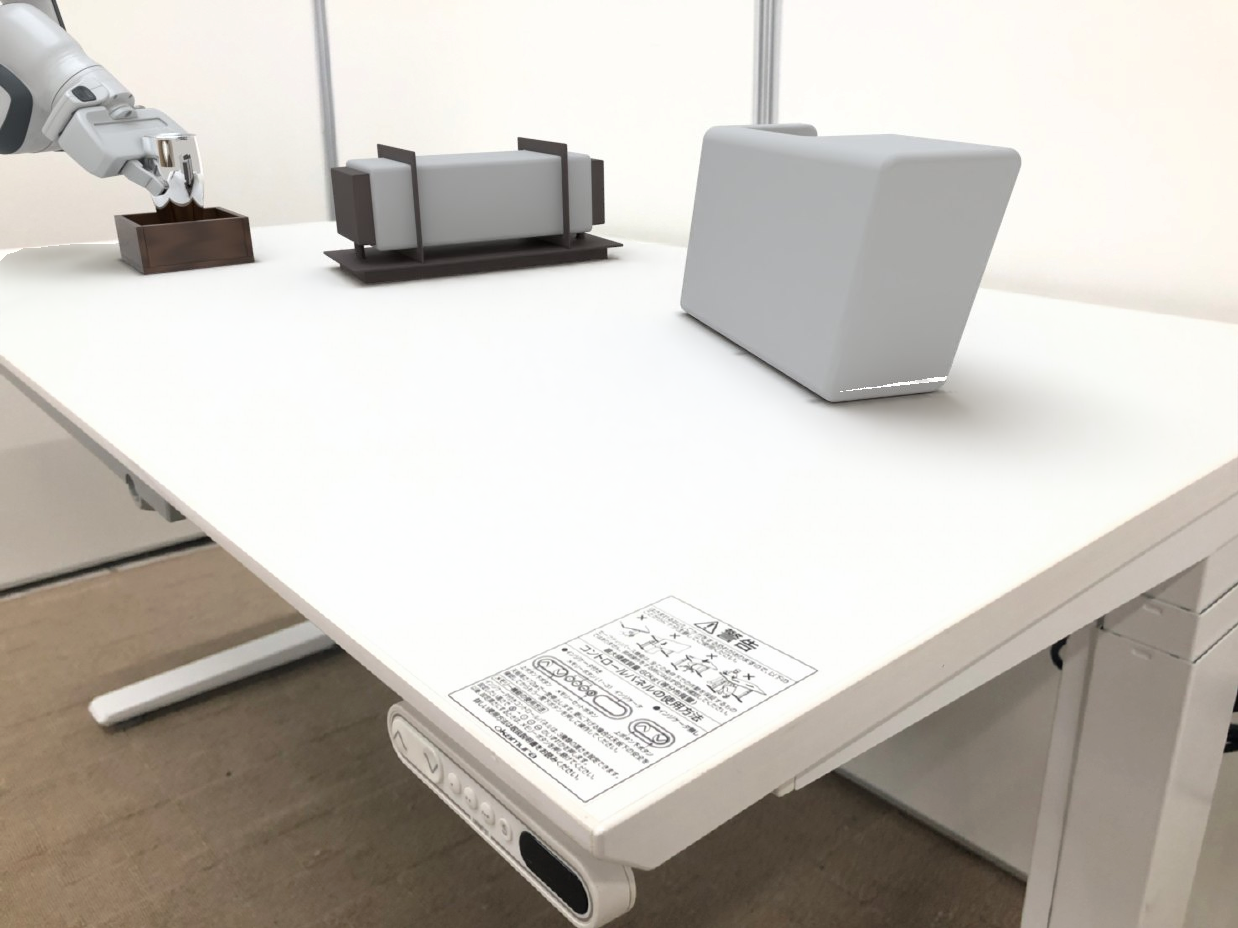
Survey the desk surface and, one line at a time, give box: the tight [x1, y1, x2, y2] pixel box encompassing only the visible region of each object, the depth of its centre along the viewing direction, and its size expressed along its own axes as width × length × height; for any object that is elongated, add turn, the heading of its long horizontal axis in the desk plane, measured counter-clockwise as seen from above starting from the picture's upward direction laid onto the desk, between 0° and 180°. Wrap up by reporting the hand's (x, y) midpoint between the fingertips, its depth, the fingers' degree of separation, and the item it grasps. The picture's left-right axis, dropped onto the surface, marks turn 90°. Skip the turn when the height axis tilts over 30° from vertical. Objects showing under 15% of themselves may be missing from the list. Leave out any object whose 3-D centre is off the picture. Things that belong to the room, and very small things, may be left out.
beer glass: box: [141, 133, 205, 224], centre depth 136 cm, size 7×7×15 cm
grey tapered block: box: [679, 122, 1022, 403], centre depth 87 cm, size 30×10×30 cm, turn 16°
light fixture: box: [322, 136, 624, 285], centre depth 132 cm, size 15×15×35 cm
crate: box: [113, 206, 256, 275], centre depth 138 cm, size 14×14×6 cm
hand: (181, 188), depth 136 cm, fingers closed on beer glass, 7 cm apart
